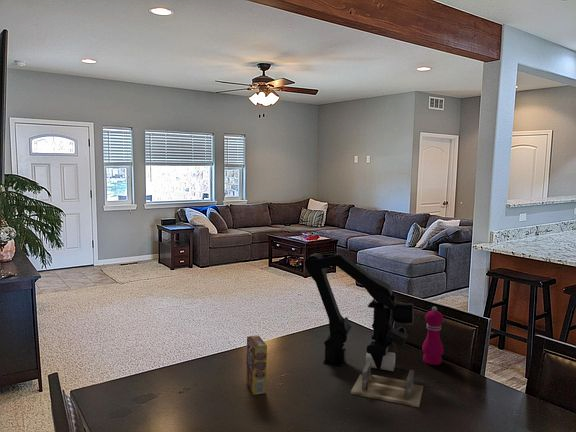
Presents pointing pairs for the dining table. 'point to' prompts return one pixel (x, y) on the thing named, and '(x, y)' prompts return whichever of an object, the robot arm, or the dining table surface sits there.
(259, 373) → the candy box
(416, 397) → the roll holder
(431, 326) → the pepper mill
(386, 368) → the roll
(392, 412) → the dining table surface
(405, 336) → the robot arm
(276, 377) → the dining table surface
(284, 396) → the dining table surface
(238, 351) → the dining table surface
